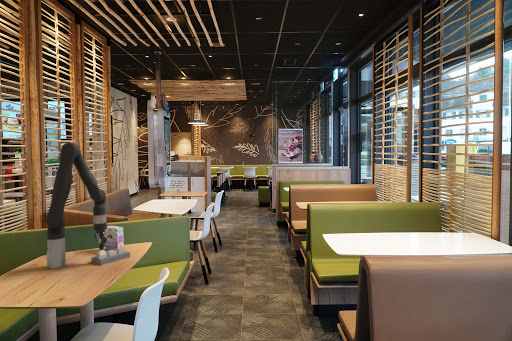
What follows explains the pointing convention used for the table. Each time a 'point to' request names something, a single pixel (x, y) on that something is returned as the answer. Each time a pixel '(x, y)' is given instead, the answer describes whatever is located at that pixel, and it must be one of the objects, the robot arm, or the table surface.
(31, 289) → the table surface
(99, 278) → the table surface
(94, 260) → the button board
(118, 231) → the candy box
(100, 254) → the cream button
